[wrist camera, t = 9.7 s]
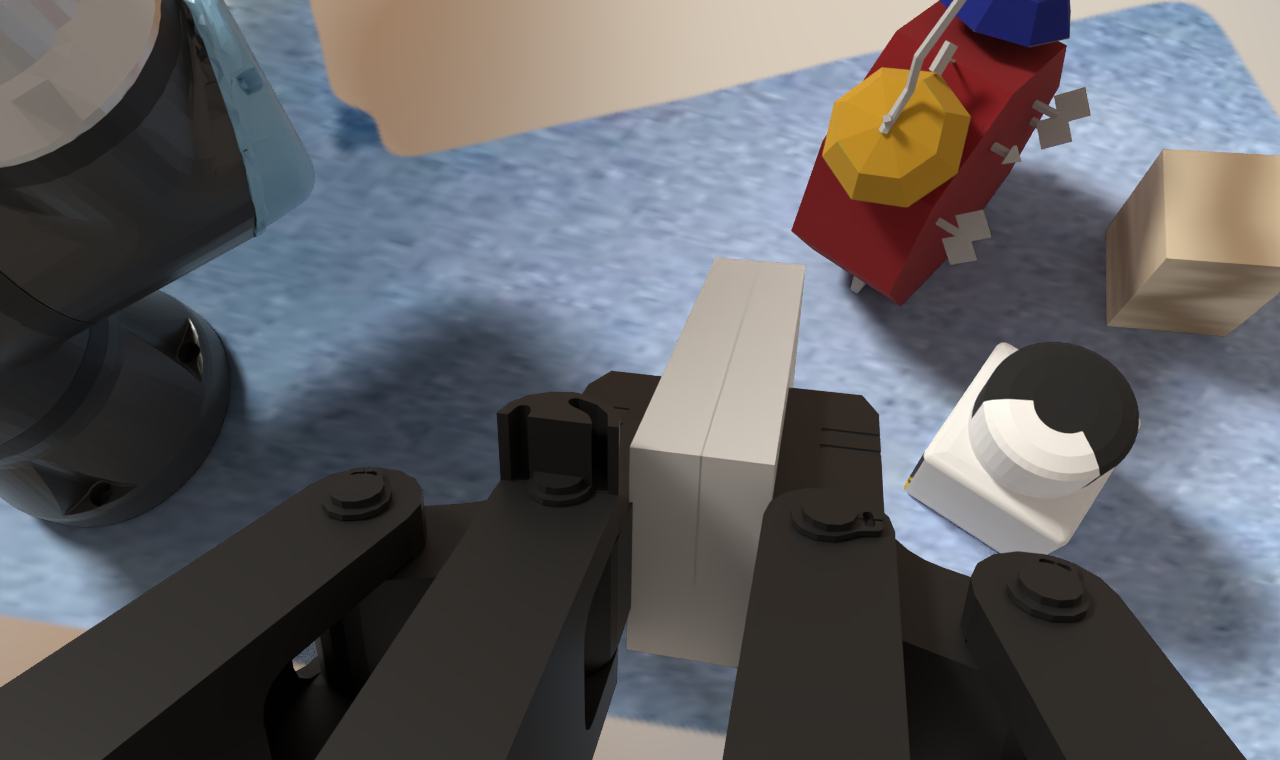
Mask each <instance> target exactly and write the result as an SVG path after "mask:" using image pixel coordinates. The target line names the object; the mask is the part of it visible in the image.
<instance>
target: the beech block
mask: <svg viewBox="0 0 1280 760" xmlns="http://www.w3.org/2000/svg"><path fill="white" fill-rule="evenodd" d="M1279 293H1280V156H1279V155H1261V154H1243V153H1224V152H1206V151H1188V150H1170V149H1163V150H1162V151H1161V153H1160V154H1159V156H1158V157H1157V158H1156V160H1155V161H1154V163H1153V164H1152V166H1151V167H1150V168H1149V170H1148V171H1147V173H1146V174H1145V175H1144V177H1143V178H1142V180H1141V181H1140V183H1139V184H1138V185H1137V187H1136V188H1135V190H1134V191H1133V192H1132V194H1131V195H1130V197H1129V198H1128V200H1127V201H1126V202H1125V204H1124V205H1123V207H1122V208H1121V209H1120V211H1119V212H1118V214H1117V215H1116V217H1115V218H1114V219H1113V221H1112V222H1111V224H1110V225H1109V226H1108V228H1107V229H1106V297H1107V326H1114V327H1125V328H1137V329H1148V330H1159V331H1171V332H1182V333H1193V334H1205V335H1216V336H1227V335H1228V334H1230V333H1231V332H1232V331H1233V330H1234V329H1236V328H1237V327H1238V326H1239V325H1241V324H1242V323H1243V322H1244V321H1246V320H1247V319H1248V318H1249V317H1251V316H1252V315H1253V314H1254V313H1255V312H1257V311H1258V310H1259V309H1260V308H1262V307H1263V306H1264V305H1265V304H1267V303H1268V302H1269V301H1270V300H1271V299H1273V298H1274V297H1275V296H1276V295H1278V294H1279Z"/></svg>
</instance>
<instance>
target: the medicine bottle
mask: <svg viewBox="0 0 1280 760" xmlns="http://www.w3.org/2000/svg"><path fill="white" fill-rule="evenodd" d="M1140 425H1141V421H1140V419H1139V411H1138V406H1137V401H1136V398H1135V395H1134V393H1133V391H1132V389H1131V387H1130V385H1129V383H1128V382H1127V380H1126V379H1125V378H1124V376H1123V375H1122V374H1121V373H1120V372H1119V370H1118V369H1117V368H1116V367H1115V366H1113V365H1112V364H1111V363H1110V362H1109V361H1108V360H1106V359H1105V358H1103V357H1102V356H1100V355H1099V354H1097V353H1095V352H1093V351H1091V350H1089V349H1086V348H1083V347H1081V346H1077V345H1073V344H1069V343H1061V342H1046V343H1038V344H1034V345H1030V346H1027V347H1024V348H1022V349H1017V348H1015V347H1014V346H1012V345H1010V344H1008V343H1005V342H1003V343H1000V344H998V345H997V346H996V347H995V349H994V350H993V352H992V353H991V355H990V356H989V358H988V359H987V361H986V362H985V364H984V365H983V367H982V368H981V370H980V371H979V372H978V374H977V375H976V377H975V378H974V380H973V381H972V383H971V384H970V386H969V387H968V389H967V390H966V392H965V393H964V395H963V396H962V398H961V399H960V400H959V402H958V403H957V405H956V406H955V408H954V409H953V411H952V412H951V414H950V415H949V417H948V418H947V420H946V421H945V423H944V424H943V425H942V427H941V428H940V430H939V431H938V433H937V434H936V436H935V437H934V439H933V440H932V442H931V443H930V445H929V446H928V448H927V449H926V451H925V452H924V454H923V455H922V457H921V459H920V460H919V462H918V464H917V465H916V467H915V469H914V470H913V472H912V474H911V475H910V477H909V478H908V480H907V482H906V483H905V486H904V487H905V491H906V492H907V493H908V494H910V495H911V496H913V497H914V498H916V499H918V500H919V501H921V502H922V503H924V504H925V505H927V506H928V507H930V508H931V509H933V510H935V511H936V512H938V513H939V514H941V515H942V516H944V517H945V518H947V519H948V520H950V521H952V522H953V523H955V524H956V525H958V526H959V527H961V528H962V529H964V530H965V531H967V532H969V533H970V534H972V535H973V536H975V537H976V538H978V539H979V540H981V541H982V542H984V543H986V544H987V545H989V546H990V547H992V548H993V549H995V550H996V551H998V552H999V553H1007V552H1014V551H1021V552H1030V553H1039V554H1046V555H1048V554H1049V553H1051V552H1053V551H1055V550H1057V549H1058V548H1060V547H1062V546H1064V545H1066V544H1067V543H1068V542H1069V540H1070V539H1071V537H1072V536H1073V534H1074V532H1075V531H1076V529H1077V528H1078V526H1079V524H1080V523H1081V521H1082V520H1083V518H1084V516H1085V515H1086V513H1087V512H1088V510H1089V508H1090V507H1091V505H1092V504H1093V502H1094V500H1095V499H1096V497H1097V496H1098V494H1099V492H1100V491H1101V489H1102V488H1103V486H1104V484H1105V483H1106V481H1107V480H1108V478H1109V476H1110V475H1111V473H1112V472H1113V470H1114V468H1115V467H1116V466H1117V465H1118V464H1119V463H1120V462H1121V461H1122V460H1123V459H1124V458H1125V457H1126V455H1127V454H1128V453H1129V451H1130V450H1131V448H1132V446H1133V444H1134V442H1135V439H1136V436H1137V433H1138V430H1139V428H1140Z"/></svg>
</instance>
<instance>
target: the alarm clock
mask: <svg viewBox="0 0 1280 760" xmlns="http://www.w3.org/2000/svg"><path fill="white" fill-rule="evenodd" d="M1070 12H1071V11H1070V0H939V1H938V2H937V3H935V4H934V5H932V6H931V7H930V8H928V9H927V10H926V11H924V12H923V13H921V14H920V15H918V16H917V17H916V18H914V19H913V20H911V21H910V22H909V23H907V24H906V25H904V26H903V27H901V28H900V29H899V30H897V31H896V33H895V34H894V36H893V37H892V39H891V40H890V41H889V43H888V44H887V46H886V47H885V49H884V50H883V52H882V53H881V55H880V56H879V58H878V59H877V61H876V62H875V64H874V65H873V67H872V68H871V70H870V71H869V73H868V74H867V76H866V77H865V79H864V80H863V82H861V83H860V84H858V85H857V86H856V87H854V88H853V89H852V90H850V91H849V92H848V93H846V94H845V95H843V96H842V97H841V98H839V99H838V100H837V101H835V102H834V106H833V110H832V115H831V119H830V123H829V128H828V132H827V135H826V137H825V138H824V140H823V141H822V144H821V147H820V150H819V153H818V156H817V159H816V162H815V164H814V167H813V170H812V173H811V176H810V179H809V182H808V184H807V187H806V190H805V193H804V196H803V199H802V202H801V204H800V207H799V210H798V213H797V216H796V219H795V222H794V225H793V227H792V230H791V231H792V232H793V233H794V234H795V235H797V236H798V237H799V238H800V239H801V240H802V241H804V242H805V243H806V244H807V245H808V246H810V247H811V248H812V249H813V250H815V251H816V252H818V253H819V254H821V255H822V256H824V257H825V258H827V259H829V260H830V261H832V262H833V263H835V264H836V265H838V266H839V267H841V268H842V269H844V270H846V271H847V272H849V273H850V274H852V275H853V276H854V277H853V281H852V284H851V288H850V289H851V290H852V291H854V292H855V293H858V292H860V291H861V289H862V288H863V287H864V286H865V285H866V284H867V285H869V286H870V287H872V288H873V289H875V290H876V291H878V292H879V293H881V294H882V295H884V296H886V297H887V298H889V299H890V300H892V301H893V302H895V303H896V304H898V305H899V306H902V305H903V304H904V303H905V302H906V300H907V299H908V298H909V297H910V296H911V295H912V294H913V293H914V292H915V291H916V290H917V289H918V288H919V287H920V286H921V285H922V284H923V283H924V282H925V281H926V280H927V279H928V278H929V277H930V276H931V275H932V273H933V272H934V271H935V270H936V269H937V268H938V267H939V266H940V265H941V264H942V263H943V262H944V261H945V260H946V259H947V258H948V260H949V263H950V265H954V264H960V263H965V262H971V261H977V258H976V254H975V251H974V248H973V245H972V241H975V240H981V239H986V238H991V233H990V230H989V227H988V223H987V220H986V217H985V213H984V210H983V209H984V207H985V206H986V205H987V203H988V202H989V200H990V199H991V198H992V196H993V195H994V193H995V192H996V191H997V189H998V188H999V187H1000V185H1001V184H1002V182H1003V181H1004V180H1005V178H1006V177H1007V176H1008V174H1009V173H1010V171H1011V169H1012V168H1013V166H1014V164H1015V162H1021V159H1020V154H1021V152H1022V150H1023V149H1024V147H1025V145H1026V143H1027V142H1028V140H1029V138H1030V136H1031V135H1032V133H1033V131H1034V129H1035V128H1037V129H1038V135H1039V140H1040V145H1041V149H1045V148H1049V147H1053V146H1056V145H1060V144H1064V143H1068V142H1072V139H1071V133H1070V128H1069V123H1068V121H1072V120H1075V119H1079V118H1083V117H1086V116H1090V109H1089V104H1088V99H1087V94H1086V88H1085V87H1084V88H1081V89H1077V90H1074V91H1070V92H1067V93H1063V94H1060V95H1056V96H1054V94H1055V93H1056V91H1057V89H1058V87H1059V84H1060V79H1061V73H1062V68H1063V63H1064V57H1065V52H1066V47H1067V45H1065V44H1063V43H1061V42H1059V41H1060V40H1064V39H1069V37H1070ZM1053 96H1054V98H1055V104H1056V109H1057V110H1056V109H1054V108H1052V107H1050V106H1049V103H1050V101H1051V100H1052V98H1053ZM1043 114H1045V115H1047V116H1049V117H1051V118H1049V119H1045V120H1040V119H1041V117H1042V115H1043Z"/></svg>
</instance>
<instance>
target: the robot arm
mask: <svg viewBox="0 0 1280 760" xmlns="http://www.w3.org/2000/svg"><path fill="white" fill-rule="evenodd" d="M314 182H315V171H314V167H313V163H312V161H311V159H310V157H309V155H308V153H307V151H306V149H305V147H304V145H303V143H302V141H301V139H300V138H299V136H298V134H297V132H296V130H295V128H294V126H293V124H292V123H291V121H290V119H289V117H288V115H287V113H286V112H285V110H284V108H283V106H282V104H281V102H280V101H279V99H278V97H277V95H276V93H275V91H274V90H273V88H272V86H271V84H270V82H269V81H268V79H267V77H266V75H265V73H264V71H263V70H262V68H261V66H260V64H259V62H258V61H257V59H256V57H255V55H254V54H253V52H252V50H251V48H250V46H249V45H248V43H247V41H246V39H245V38H244V36H243V34H242V32H241V30H240V29H239V27H238V25H237V23H236V21H235V19H234V18H233V16H232V14H231V12H230V11H229V9H228V7H227V5H226V4H225V2H224V0H0V497H1V498H2V499H3V500H5V501H6V502H7V503H9V504H10V505H12V506H13V507H15V508H17V509H18V510H20V511H22V512H25V513H27V514H29V515H32V516H34V517H37V518H41V519H45V520H49V521H53V522H56V523H60V524H64V525H69V526H75V527H99V526H106V525H111V524H115V523H119V522H122V521H125V520H128V519H131V518H133V517H136V516H138V515H140V514H142V513H144V512H146V511H148V510H150V509H151V508H153V507H155V506H156V505H158V504H159V503H161V502H162V501H164V500H165V499H167V498H168V497H169V496H171V495H172V494H173V493H174V492H175V491H176V490H178V489H179V488H180V487H181V486H182V485H183V484H184V483H185V482H186V481H187V480H188V479H189V478H190V477H191V476H192V474H193V473H194V472H195V471H196V469H197V468H198V467H199V466H200V464H201V463H202V462H203V460H204V459H205V457H206V456H207V454H208V452H209V451H210V449H211V447H212V445H213V444H214V442H215V440H216V437H217V435H218V433H219V431H220V428H221V426H222V423H223V420H224V417H225V413H226V409H227V404H228V397H229V383H230V381H229V368H228V362H227V358H226V354H225V351H224V348H223V346H222V343H221V342H220V340H219V338H218V336H217V334H216V333H215V331H214V330H213V328H212V327H211V326H210V325H209V324H208V322H207V321H206V320H205V319H204V318H202V317H201V316H200V315H199V314H198V313H196V312H195V311H193V310H192V309H190V308H189V307H187V306H186V305H185V304H183V303H182V302H180V301H179V300H177V299H176V298H174V297H172V296H171V295H169V294H166V293H164V292H162V291H160V290H159V289H160V288H162V287H164V286H166V285H168V284H169V283H171V282H173V281H175V280H177V279H178V278H180V277H182V276H184V275H186V274H188V273H189V272H191V271H193V270H195V269H197V268H198V267H200V266H202V265H204V264H206V263H207V262H209V261H211V260H213V259H215V258H217V257H218V256H220V255H222V254H224V253H226V252H227V251H229V250H231V249H233V248H235V247H237V246H238V245H240V244H242V243H244V242H246V241H247V240H249V239H251V238H253V237H258V236H260V235H261V234H262V233H263V232H264V231H265V230H266V227H267V226H269V225H270V224H272V223H273V222H275V221H276V220H278V219H279V218H281V217H282V216H284V215H285V214H287V213H288V212H290V211H291V210H293V209H294V208H296V207H297V206H299V205H300V204H302V203H303V202H304V201H305V200H306V199H307V198H308V197H309V195H310V193H311V191H312V189H313V187H314ZM804 275H805V265H802V264H790V263H778V262H766V261H754V260H742V259H730V258H717V257H716V258H715V260H714V262H713V264H712V267H711V269H710V271H709V273H708V276H707V278H706V280H705V282H704V284H703V287H702V289H701V291H700V293H699V295H698V298H697V300H696V302H695V304H694V306H693V309H692V311H691V313H690V315H689V317H688V320H687V322H686V324H685V326H684V328H683V331H682V333H681V335H680V337H679V340H678V342H677V344H676V346H675V348H674V351H673V353H672V355H671V357H670V359H669V362H668V364H667V366H666V368H665V370H664V373H663V375H662V376H653V375H644V374H635V373H626V372H616V371H611V372H609V373H607V374H606V375H604V376H602V377H600V378H599V379H597V380H595V381H594V382H592V383H590V384H589V385H588V386H587V388H586V389H585V391H584V392H583V394H580V393H575V392H547V393H541V394H535V395H528V396H526V397H523V398H521V399H518V400H515V401H513V402H510V403H508V404H507V405H506V406H505V407H503V408H502V409H501V410H500V411H499V412H497V424H498V441H499V458H500V476H501V480H500V482H499V483H498V485H497V486H496V488H495V489H494V491H493V492H492V494H491V495H490V497H489V498H488V500H485V501H481V502H473V503H465V504H451V505H435V506H424V499H423V490H422V489H421V487H420V486H419V484H418V483H417V481H416V480H415V479H414V478H412V477H410V476H408V475H406V474H404V473H402V472H400V471H395V470H389V469H383V468H370V467H368V468H366V469H365V468H356V469H351V470H349V471H345V472H341V473H337V474H333V475H330V476H328V477H326V478H324V479H322V480H320V481H318V482H316V483H314V484H312V485H310V486H308V487H307V488H305V489H304V490H302V491H301V492H299V493H298V494H296V495H294V496H293V497H291V498H290V499H288V500H287V501H285V502H284V503H282V504H281V505H279V506H278V507H276V508H275V509H273V510H272V511H270V512H268V513H267V514H265V515H264V516H262V517H261V518H259V519H258V520H256V521H255V522H253V523H252V524H250V525H249V526H247V527H245V528H244V529H242V530H241V531H239V532H238V533H236V534H235V535H233V536H232V537H230V538H229V539H227V540H226V541H224V542H223V543H221V544H219V545H218V546H216V547H215V548H213V549H212V550H210V551H209V552H207V553H206V554H204V555H203V556H201V557H200V558H198V559H196V560H195V561H193V562H192V563H190V564H189V565H187V566H186V567H184V568H183V569H181V570H180V571H178V572H177V573H175V574H174V575H172V576H170V577H169V578H167V579H166V580H164V581H163V582H161V583H160V584H158V585H157V586H155V587H154V588H152V589H151V590H149V591H147V592H146V593H144V594H143V595H141V596H140V597H138V598H137V599H135V600H134V601H132V602H131V603H129V604H128V605H126V606H124V607H123V608H121V609H120V610H118V611H117V612H115V613H114V614H112V615H111V616H109V617H108V618H106V619H105V620H103V621H102V622H100V623H98V624H97V625H95V626H94V627H92V628H91V629H89V630H88V631H86V632H85V633H83V634H82V635H80V636H79V637H77V638H76V639H74V640H72V641H71V642H69V643H68V644H66V645H65V646H63V647H62V648H60V649H59V650H57V651H56V652H54V653H53V654H51V655H49V656H48V657H46V658H45V659H43V660H42V661H40V662H39V663H37V664H36V665H34V666H33V667H31V668H30V669H28V670H27V671H25V672H23V673H22V674H20V675H19V676H17V677H16V678H14V679H13V680H11V681H10V682H8V683H7V684H5V685H4V686H2V687H0V760H592V759H593V755H594V752H595V749H596V746H597V743H598V740H599V737H600V734H601V730H602V727H603V724H604V721H605V718H606V715H607V712H608V709H609V705H610V702H611V699H612V696H613V693H614V690H615V687H616V684H617V670H618V644H619V641H620V638H621V635H622V632H623V629H624V626H625V624H626V621H627V650H633V651H639V652H645V653H651V654H657V655H663V656H669V657H675V658H681V659H687V660H693V661H699V662H705V663H711V664H717V665H723V666H729V667H735V668H738V670H737V676H736V682H735V688H734V694H733V700H732V706H731V712H730V718H729V724H728V730H727V736H726V742H725V749H724V755H723V760H1246V758H1245V757H1244V756H1243V754H1242V753H1241V752H1240V751H1239V749H1238V748H1237V747H1236V745H1235V744H1234V743H1233V742H1232V740H1231V739H1230V738H1229V736H1228V735H1227V734H1226V733H1225V731H1224V730H1223V729H1222V727H1221V726H1220V725H1219V724H1218V722H1217V721H1216V720H1215V718H1214V717H1213V716H1212V715H1211V713H1210V712H1209V711H1208V709H1207V708H1206V707H1205V706H1204V704H1203V703H1202V702H1201V700H1200V699H1199V698H1198V697H1197V695H1196V694H1195V693H1194V691H1193V690H1192V689H1191V688H1190V686H1189V685H1188V684H1187V682H1186V681H1185V680H1184V679H1183V677H1182V676H1181V675H1180V673H1179V672H1178V671H1177V670H1176V668H1175V667H1174V666H1173V664H1172V663H1171V662H1170V661H1169V659H1168V658H1167V657H1166V655H1165V654H1164V653H1163V652H1162V650H1161V649H1160V648H1159V646H1158V645H1157V644H1156V643H1155V641H1154V640H1153V639H1152V638H1151V636H1150V635H1149V634H1148V632H1147V631H1146V630H1145V629H1144V627H1143V626H1142V625H1141V623H1140V622H1139V621H1138V620H1137V618H1136V617H1135V616H1134V614H1133V613H1132V612H1131V611H1130V609H1129V608H1128V607H1127V605H1126V604H1125V603H1124V602H1123V600H1122V599H1121V598H1120V596H1119V595H1118V594H1117V593H1116V592H1115V591H1114V590H1112V589H1111V588H1110V587H1109V586H1108V585H1107V584H1106V583H1105V582H1104V581H1103V580H1102V579H1101V578H1099V577H1098V576H1096V575H1094V574H1092V573H1090V572H1089V571H1087V570H1085V569H1083V568H1081V567H1080V566H1078V565H1076V564H1074V563H1071V562H1069V561H1066V560H1063V559H1061V558H1056V557H1054V556H1050V555H1046V554H1039V553H1030V552H1021V551H1014V552H1007V553H999V554H993V555H992V556H990V557H988V558H986V559H984V560H983V561H981V562H979V563H977V565H976V567H975V569H974V572H973V574H972V576H971V577H969V576H966V575H963V574H960V573H957V572H954V571H951V570H948V569H946V568H943V567H940V566H938V565H936V564H933V563H931V562H928V561H926V560H924V559H922V558H921V557H919V556H917V555H916V554H914V553H912V552H911V551H909V550H907V549H906V548H905V547H904V546H903V545H902V544H901V543H900V542H898V541H897V540H896V539H895V531H894V528H893V526H892V523H891V521H890V518H889V517H888V516H887V515H886V514H885V513H884V500H883V482H882V464H881V455H880V453H881V445H880V427H879V414H878V413H877V412H876V411H875V409H874V408H873V407H872V406H871V405H870V404H869V403H868V401H867V400H866V399H865V398H864V397H863V396H862V395H854V394H844V393H835V392H826V391H817V390H807V389H798V388H793V382H794V372H795V363H796V353H797V343H798V334H799V324H800V314H801V304H802V295H803V285H804ZM314 641H315V642H316V648H317V653H318V656H317V657H316V658H315V659H313V660H312V661H311V662H310V663H309V664H308V665H306V666H305V667H303V668H301V669H299V670H298V671H295V670H294V668H293V663H292V660H293V659H294V658H295V657H296V656H297V655H298V654H300V653H301V652H302V651H303V650H304V649H305V648H307V647H308V646H309V645H310V644H311V643H312V642H314Z"/></svg>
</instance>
